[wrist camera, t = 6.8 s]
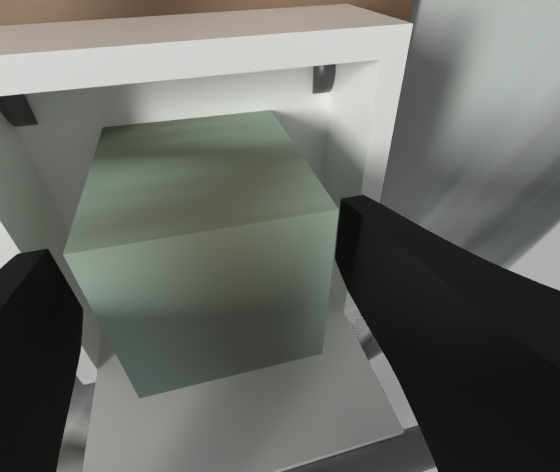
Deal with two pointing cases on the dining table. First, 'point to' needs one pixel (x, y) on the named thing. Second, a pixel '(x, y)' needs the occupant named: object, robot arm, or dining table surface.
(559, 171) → the dining table surface
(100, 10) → the board
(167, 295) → the block
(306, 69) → the white open box
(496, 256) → the dining table surface
